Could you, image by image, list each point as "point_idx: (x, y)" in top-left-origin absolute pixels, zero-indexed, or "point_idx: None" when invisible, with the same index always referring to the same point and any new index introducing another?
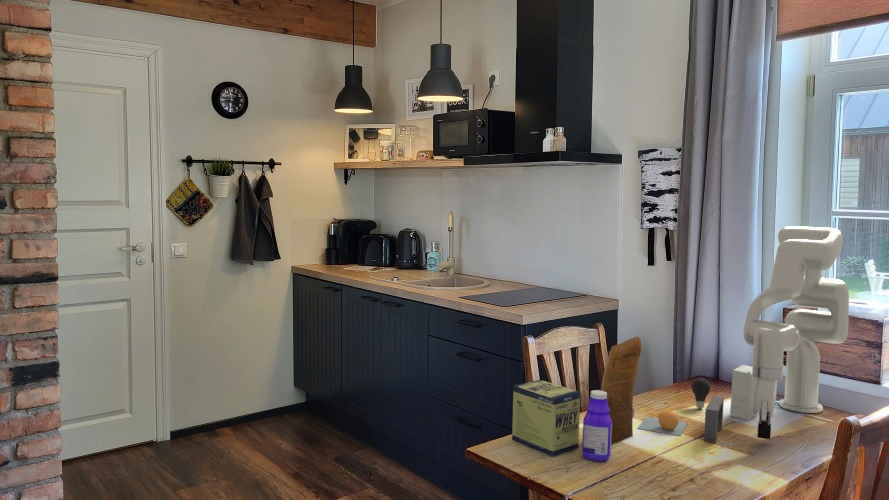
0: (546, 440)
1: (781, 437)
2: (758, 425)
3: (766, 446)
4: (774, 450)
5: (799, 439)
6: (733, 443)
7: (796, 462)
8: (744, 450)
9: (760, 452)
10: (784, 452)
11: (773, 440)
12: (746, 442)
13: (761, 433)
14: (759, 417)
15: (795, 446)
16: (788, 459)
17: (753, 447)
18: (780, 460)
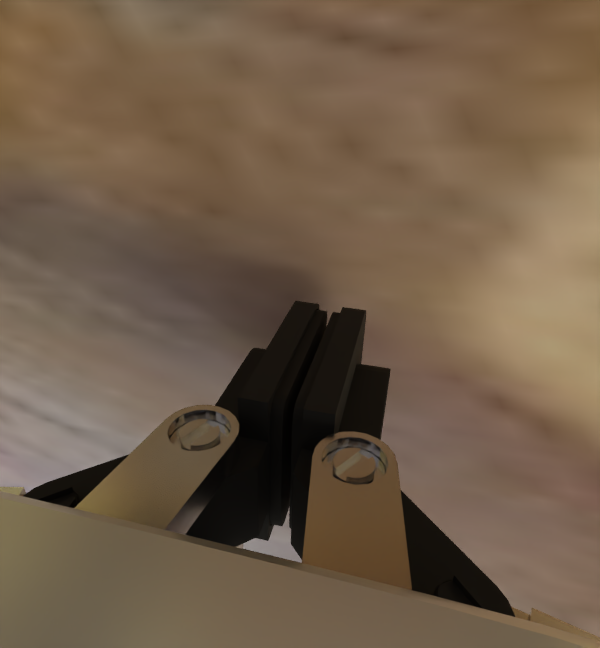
0: None
1: (593, 497)
2: (246, 384)
3: (251, 345)
4: (186, 392)
5: (575, 604)
6: (153, 5)
7: (46, 478)
8: (22, 147)
9: (69, 285)
10: None
11: (463, 421)
12: (271, 162)
13: (249, 363)
14: (90, 496)
15: None
16: (64, 447)
17: (156, 232)
18: (10, 400)
